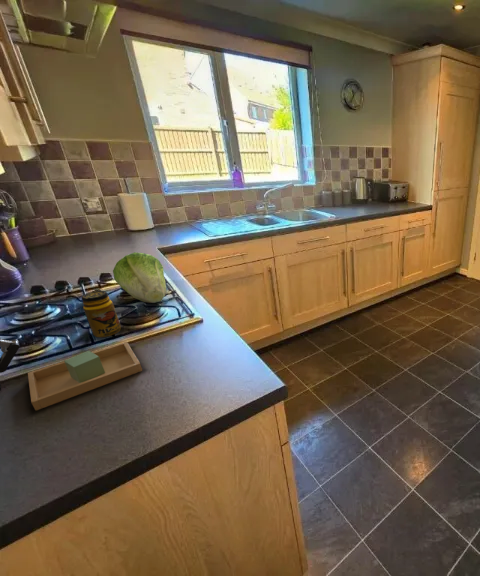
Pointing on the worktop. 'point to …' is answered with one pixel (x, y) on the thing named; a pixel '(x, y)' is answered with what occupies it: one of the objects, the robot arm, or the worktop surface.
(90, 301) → the condiment
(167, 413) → the worktop surface
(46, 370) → the tray
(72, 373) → the block
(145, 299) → the lettuce
